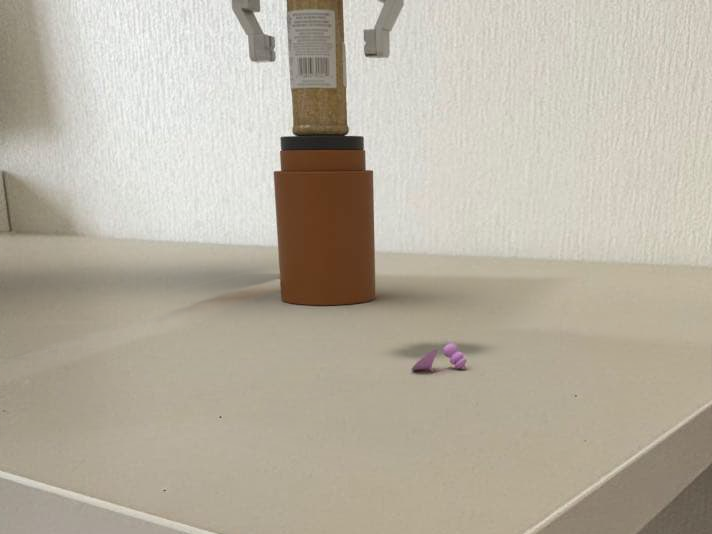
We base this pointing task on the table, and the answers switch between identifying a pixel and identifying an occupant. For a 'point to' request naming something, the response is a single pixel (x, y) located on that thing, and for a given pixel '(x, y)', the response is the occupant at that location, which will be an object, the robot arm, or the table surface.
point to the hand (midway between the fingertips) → (318, 59)
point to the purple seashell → (449, 351)
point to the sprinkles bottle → (317, 67)
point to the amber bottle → (325, 221)
